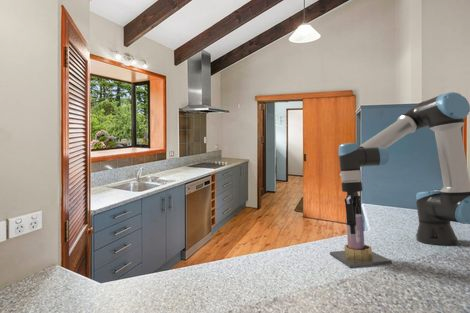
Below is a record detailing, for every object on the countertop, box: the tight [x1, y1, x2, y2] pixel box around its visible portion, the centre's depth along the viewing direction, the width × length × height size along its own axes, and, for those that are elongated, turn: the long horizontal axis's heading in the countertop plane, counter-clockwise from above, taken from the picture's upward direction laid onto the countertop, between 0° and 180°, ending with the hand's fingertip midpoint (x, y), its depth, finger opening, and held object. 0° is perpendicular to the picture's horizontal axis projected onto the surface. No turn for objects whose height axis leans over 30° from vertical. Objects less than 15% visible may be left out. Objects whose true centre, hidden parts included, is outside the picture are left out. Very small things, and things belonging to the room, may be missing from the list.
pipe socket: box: [329, 243, 393, 269], centre depth 101 cm, size 16×16×5 cm
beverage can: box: [345, 214, 366, 250], centre depth 101 cm, size 6×6×15 cm
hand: (356, 240), depth 102 cm, fingers closed on beverage can, 5 cm apart
